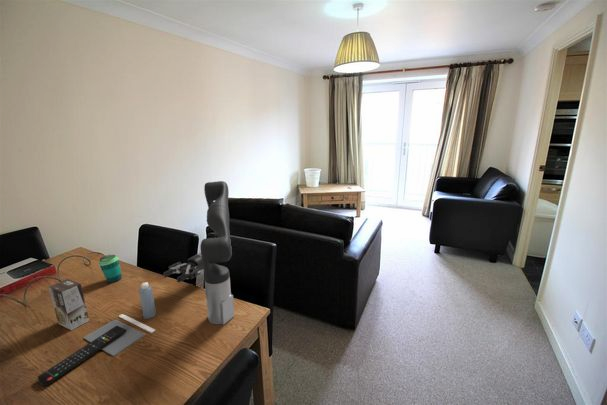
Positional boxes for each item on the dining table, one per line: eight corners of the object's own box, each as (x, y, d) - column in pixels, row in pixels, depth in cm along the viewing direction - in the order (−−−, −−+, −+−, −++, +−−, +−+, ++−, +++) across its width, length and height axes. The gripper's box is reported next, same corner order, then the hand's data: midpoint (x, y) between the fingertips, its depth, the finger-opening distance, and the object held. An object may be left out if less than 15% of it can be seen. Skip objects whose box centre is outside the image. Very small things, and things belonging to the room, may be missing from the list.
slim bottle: (158, 313, 112) (153, 282, 109) (148, 319, 109) (142, 288, 105) (151, 310, 114) (146, 279, 111) (140, 316, 110) (135, 285, 107)
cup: (115, 284, 133) (110, 261, 130) (98, 284, 133) (93, 261, 130) (125, 275, 141) (121, 254, 138) (109, 275, 141) (105, 253, 138)
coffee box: (90, 320, 108) (81, 283, 104) (71, 331, 103) (61, 292, 98) (76, 314, 112) (68, 278, 108) (57, 323, 106) (47, 286, 102)
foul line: (155, 330, 103) (155, 329, 103) (151, 333, 102) (151, 332, 102) (122, 314, 112) (122, 313, 112) (118, 316, 110) (118, 316, 110)
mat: (145, 335, 101) (145, 334, 100) (113, 356, 91) (113, 355, 91) (115, 320, 108) (115, 319, 108) (83, 338, 99) (83, 337, 99)
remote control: (126, 332, 101) (126, 329, 101) (46, 388, 80) (44, 384, 80) (117, 328, 103) (116, 325, 103) (36, 381, 82) (35, 378, 82)
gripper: (188, 251, 135) (158, 266, 121) (210, 257, 128) (181, 274, 114) (190, 265, 137) (160, 281, 123) (211, 272, 130) (183, 290, 117)
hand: (170, 277), depth 119 cm, fingers open, 8 cm apart
